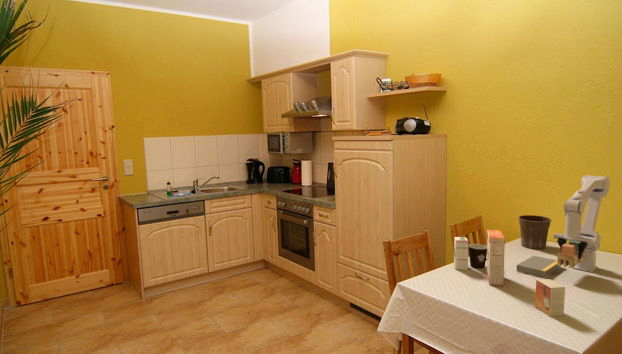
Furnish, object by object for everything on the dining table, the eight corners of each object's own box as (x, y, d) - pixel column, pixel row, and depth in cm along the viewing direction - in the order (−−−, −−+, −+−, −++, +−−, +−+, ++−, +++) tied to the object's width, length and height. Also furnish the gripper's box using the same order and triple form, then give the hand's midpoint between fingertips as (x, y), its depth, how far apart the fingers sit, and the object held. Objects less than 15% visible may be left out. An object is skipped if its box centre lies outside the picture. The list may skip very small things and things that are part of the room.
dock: (533, 261, 197) (533, 255, 197) (560, 267, 188) (561, 261, 188) (516, 271, 184) (516, 264, 184) (544, 277, 175) (545, 271, 175)
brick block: (564, 252, 175) (564, 243, 174) (575, 254, 172) (575, 245, 171) (561, 254, 172) (561, 245, 171) (572, 256, 169) (572, 247, 168)
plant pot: (550, 252, 212) (551, 222, 210) (516, 248, 220) (517, 219, 218) (550, 244, 226) (551, 216, 224) (518, 241, 234) (519, 214, 232)
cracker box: (485, 273, 182) (486, 229, 179) (500, 275, 180) (501, 230, 177) (488, 285, 168) (489, 237, 166) (504, 286, 166) (505, 238, 164)
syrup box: (468, 270, 187) (469, 240, 185) (455, 269, 188) (455, 239, 186) (466, 266, 192) (466, 237, 191) (453, 265, 194) (453, 236, 192)
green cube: (571, 248, 181) (571, 239, 180) (581, 249, 178) (582, 241, 177) (568, 249, 178) (569, 241, 178) (579, 251, 175) (579, 243, 175)
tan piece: (570, 256, 183) (571, 244, 183) (584, 258, 179) (585, 247, 179) (557, 265, 172) (557, 252, 171) (571, 268, 167) (572, 255, 167)
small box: (534, 306, 147) (535, 279, 146) (548, 305, 147) (549, 278, 146) (549, 316, 139) (550, 287, 138) (564, 315, 139) (565, 286, 138)
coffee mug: (467, 268, 189) (468, 248, 188) (468, 262, 197) (468, 243, 196) (494, 271, 185) (495, 250, 184) (493, 265, 193) (494, 245, 191)
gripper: (551, 225, 177) (550, 255, 178) (590, 231, 166) (588, 262, 167) (557, 223, 181) (555, 252, 183) (594, 228, 170) (593, 259, 172)
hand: (571, 256), depth 175 cm, fingers closed on tan piece, 5 cm apart
